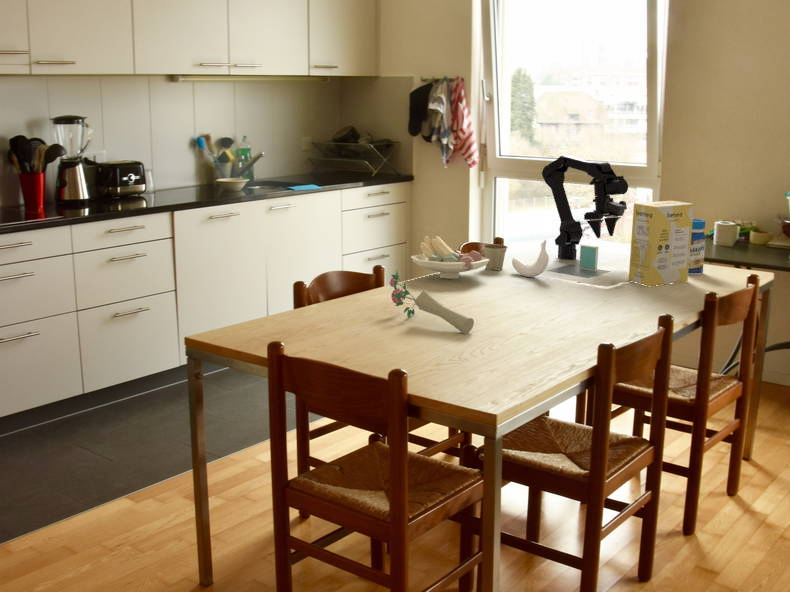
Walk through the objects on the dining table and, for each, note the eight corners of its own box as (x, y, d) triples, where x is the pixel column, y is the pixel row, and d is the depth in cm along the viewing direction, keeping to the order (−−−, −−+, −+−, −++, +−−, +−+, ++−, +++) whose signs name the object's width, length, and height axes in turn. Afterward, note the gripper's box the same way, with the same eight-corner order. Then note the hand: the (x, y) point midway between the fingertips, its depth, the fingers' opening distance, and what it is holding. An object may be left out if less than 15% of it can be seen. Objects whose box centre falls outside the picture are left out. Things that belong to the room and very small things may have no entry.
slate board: (545, 272, 328) (546, 270, 328) (569, 266, 339) (569, 264, 339) (587, 280, 316) (587, 277, 316) (610, 273, 327) (611, 271, 327)
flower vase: (453, 359, 249) (372, 310, 271) (483, 340, 255) (402, 293, 277) (452, 326, 242) (369, 279, 264) (482, 307, 248) (399, 262, 271)
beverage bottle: (701, 271, 332) (706, 218, 327) (704, 276, 324) (709, 222, 319) (678, 270, 333) (682, 218, 329) (681, 275, 325) (685, 221, 321)
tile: (579, 268, 332) (580, 244, 330) (580, 267, 333) (582, 244, 331) (595, 271, 328) (596, 247, 326) (597, 270, 329) (598, 246, 326)
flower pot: (510, 268, 336) (511, 245, 334) (500, 272, 328) (500, 249, 326) (488, 265, 341) (489, 243, 339) (477, 269, 333) (478, 247, 331)
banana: (514, 271, 331) (516, 232, 327) (551, 280, 316) (553, 240, 312) (505, 272, 328) (506, 233, 324) (542, 281, 313) (543, 241, 310)
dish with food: (426, 267, 337) (427, 230, 334) (497, 273, 327) (498, 235, 323) (399, 281, 312) (399, 242, 309) (474, 289, 302) (475, 248, 298)
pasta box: (665, 276, 323) (671, 200, 317) (687, 281, 314) (694, 203, 308) (628, 281, 315) (633, 203, 308) (650, 287, 306) (656, 207, 299)
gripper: (608, 195, 320) (611, 238, 321) (634, 193, 333) (636, 234, 335) (582, 197, 328) (584, 239, 329) (608, 195, 341) (610, 235, 342)
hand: (605, 237), depth 334 cm, fingers open, 9 cm apart
